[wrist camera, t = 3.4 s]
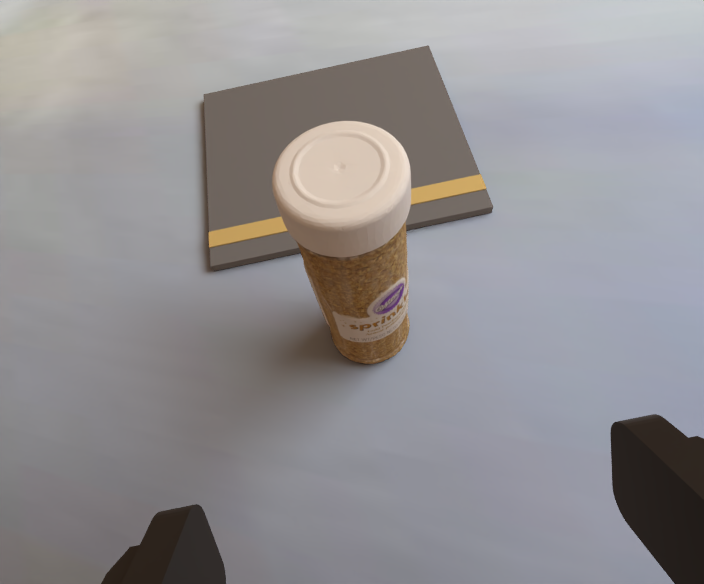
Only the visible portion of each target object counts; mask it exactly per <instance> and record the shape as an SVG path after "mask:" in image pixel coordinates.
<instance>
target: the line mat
mask: <svg viewBox="0 0 704 584" xmlns="http://www.w3.org/2000/svg"><path fill="white" fill-rule="evenodd" d="M204 114H205V139H206V165H207V191H208V217H209V248H210V267H211V268H212V269H213V270H214V271H217V270H222V269H226V268H231V267H236V266H241V265H245V264H250V263H255V262H260V261H264V260H269V259H274V258H279V257H283V256H288V255H293V254H298V253H301V251H300V249H299V246H298V244H297V242H296V240H295V239H293V237H292V236H291V235H290V234H289V232H288V230H287V229H286V226H285V224H284V222H283V219H282V217H281V214H280V212H279V209H278V206H277V203H276V200H275V197H274V194H273V188H272V176H273V171H274V167H275V164H276V162H277V160H278V158H279V156H280V155H281V153H282V152H283V150H284V149H285V148H286V147H287V146H288V145H289V144H290V143H291V142H292V141H293V140H294V139H295V138H297V137H298V136H300V135H301V134H303V133H304V132H306V131H308V130H310V129H312V128H315V127H317V126H320V125H323V124H327V123H331V122H338V121H357V122H363V123H368V124H371V125H374V126H377V127H379V128H381V129H383V130H385V131H387V132H388V133H390V134H391V135H392V136H393V137H395V138H396V140H397V141H398V142H399V143H400V144H401V145H402V147H403V148H404V150H405V152H406V154H407V157H408V159H409V163H410V171H411V206H410V210H409V214H408V216H407V219H406V230H411V229H416V228H421V227H425V226H430V225H435V224H440V223H444V222H449V221H454V220H459V219H463V218H468V217H473V216H477V215H482V214H487V213H492V209H493V205H492V203H491V200H490V198H489V195H488V193H487V190H486V186H485V184H484V181H483V179H482V176H481V174H480V173H479V170H478V168H477V165H476V163H475V160H474V158H473V155H472V153H471V150H470V148H469V145H468V143H467V140H466V138H465V135H464V133H463V130H462V128H461V125H460V123H459V120H458V118H457V115H456V113H455V110H454V108H453V105H452V103H451V100H450V98H449V95H448V93H447V90H446V88H445V85H444V83H443V80H442V78H441V75H440V73H439V71H438V68H437V66H436V63H435V61H434V58H433V56H432V53H431V51H430V48H429V46H424V47H420V48H415V49H410V50H406V51H401V52H397V53H392V54H388V55H383V56H378V57H374V58H369V59H365V60H360V61H355V62H351V63H346V64H342V65H337V66H333V67H328V68H323V69H319V70H314V71H310V72H305V73H300V74H296V75H291V76H287V77H282V78H277V79H273V80H268V81H264V82H259V83H255V84H250V85H245V86H241V87H236V88H232V89H227V90H222V91H218V92H213V93H209V94H204Z"/></svg>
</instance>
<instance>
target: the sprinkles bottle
mask: <svg viewBox="0 0 704 584" xmlns="http://www.w3.org/2000/svg"><path fill="white" fill-rule="evenodd" d="M272 188H273V194H274V197H275V200H276V203H277V206H278V209H279V212H280V214H281V217H282V219H283V222H284V224H285V226H286V229H287V230H288V232H289V234H290V235H291V236H292V237H293V239H295V240H296V242H297V244H298V246H299V249H300V251H301V255H302V257H303V260H304V267H305V270H306V273H307V275H308V278H309V281H310V283H311V286H312V288H313V291H314V293H315V295H316V298H317V301H318V303H319V306H320V308H321V310H322V313H323V315H324V318H325V320H326V322H327V324H328V325H329V326H330V329H331V335H332V338H333V342H334V344H335V345H336V347H337V349H338V350H339V351H340V352H341V354H342V355H344V356H345V357H347V358H348V359H350V360H352V361H355V362H360V363H365V364H375V363H379V362H382V361H384V360H386V359H389V358H390V357H392V356H394V355H396V354H397V353H398V352H399V351H400V350H401V349H402V347H403V345H404V344H405V342H406V340H407V336H408V332H409V319H408V315H407V310H408V298H409V295H408V267H407V245H406V235H407V234H406V219H407V216H408V214H409V210H410V206H411V171H410V163H409V159H408V157H407V154H406V152H405V150H404V148H403V147H402V145H401V144H400V143H399V142H398V141H397V140H396V138H395V137H393V136H392V135H391V134H390V133H388V132H387V131H385V130H383V129H381V128H379V127H377V126H374V125H371V124H368V123H363V122H357V121H338V122H331V123H327V124H323V125H320V126H317V127H315V128H312V129H310V130H308V131H306V132H304V133H303V134H301V135H300V136H298V137H297V138H295V139H294V140H293V141H292V142H291V143H290V144H289V145H288V146H287V147H286V148H285V149H284V150H283V152H282V153H281V155H280V156H279V158H278V160H277V162H276V164H275V167H274V171H273V176H272Z"/></svg>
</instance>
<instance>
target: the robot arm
mask: <svg viewBox="0 0 704 584" xmlns="http://www.w3.org/2000/svg"><path fill="white" fill-rule="evenodd" d="M611 456H612V484H613V492H614V496H615V500H616V503H617V505H618V508H619V510H620V512H621V514H622V516H623V518H624V519H625V521H626V522H627V524H628V525H629V526H630V528H631V529H632V530H633V531H634V533H635V534H636V535H637V536H638V538H639V539H640V540H641V541H642V543H643V544H644V545H645V547H646V548H647V549H648V550H649V552H650V553H651V554H652V555H653V557H654V558H655V559H656V561H657V562H658V563H659V564H660V566H661V567H662V568H663V569H664V571H665V572H666V573H667V574H668V576H669V577H670V578H671V580H672V581H673V582H674V583H675V584H704V439H703V438H700V437H698V436H695V437H690V438H688V437H687V436H685V435H684V434H683V433H682V432H680V431H679V430H678V429H677V428H675V427H674V426H673V425H672V424H671V423H669V422H668V421H667V420H666V419H664V418H663V417H661V416H659V415H656V414H654V415H648V416H643V417H638V418H633V419H628V420H623V421H618V422H615V423H613V425H612V427H611ZM101 584H226V576H225V568H224V564H223V561H222V558H221V556H220V553H219V550H218V548H217V545H216V542H215V540H214V537H213V534H212V532H211V529H210V526H209V524H208V521H207V518H206V516H205V513H204V511H203V509H202V507H201V506H200V505H197V504H196V505H191V506H186V507H181V508H176V509H171V510H166V511H161V512H158V513H157V514H156V515H155V516H154V517H153V519H152V521H151V523H150V525H149V527H148V529H147V532H146V534H145V536H144V538H143V540H142V542H141V544H140V545H138V546H133V547H130V548H129V549H128V550H127V551H126V552H125V554H124V555H123V556H122V557H121V558H120V559H119V560H118V561H117V563H116V564H115V565H114V566H113V567H112V568H111V569H110V570H109V572H108V573H107V574H106V576H105V578H104V580H103V581H102V583H101Z"/></svg>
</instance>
